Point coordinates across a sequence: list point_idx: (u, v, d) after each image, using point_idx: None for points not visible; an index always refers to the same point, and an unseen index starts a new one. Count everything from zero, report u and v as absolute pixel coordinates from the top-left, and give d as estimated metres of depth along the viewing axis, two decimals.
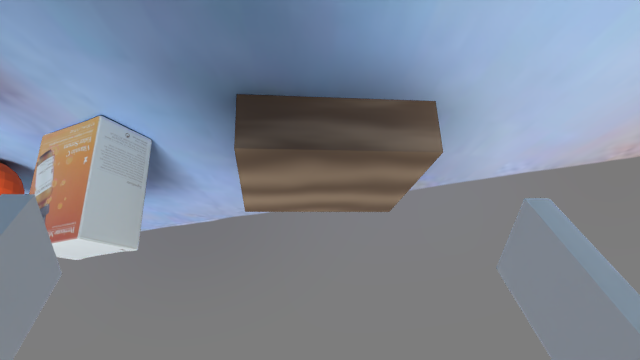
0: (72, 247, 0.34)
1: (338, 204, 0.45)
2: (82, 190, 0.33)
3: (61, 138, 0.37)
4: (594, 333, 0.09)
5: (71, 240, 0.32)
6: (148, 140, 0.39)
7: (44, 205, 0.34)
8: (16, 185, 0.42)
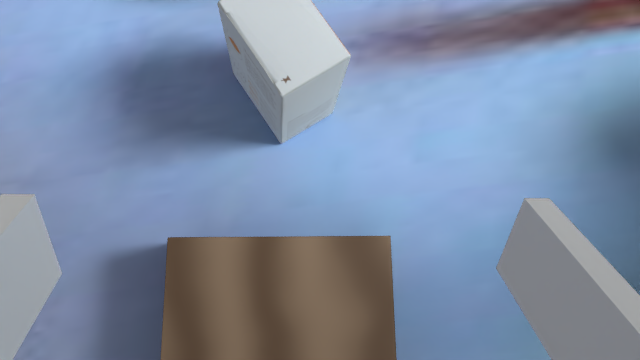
0: (308, 32, 0.28)
1: None
2: None
3: None
4: (594, 333, 0.09)
5: (341, 45, 0.28)
6: (285, 141, 0.37)
7: None
8: None
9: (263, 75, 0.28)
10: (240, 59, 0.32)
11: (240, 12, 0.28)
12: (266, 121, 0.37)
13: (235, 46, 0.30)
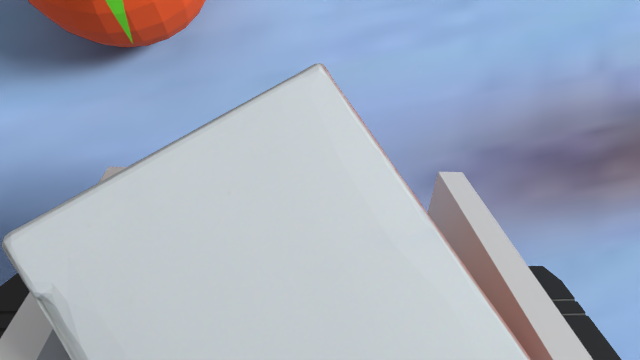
0: None
1: None
2: None
3: None
4: None
5: None
6: None
7: None
8: (129, 42, 0.15)
9: None
10: None
11: (104, 293, 0.06)
12: None
13: None
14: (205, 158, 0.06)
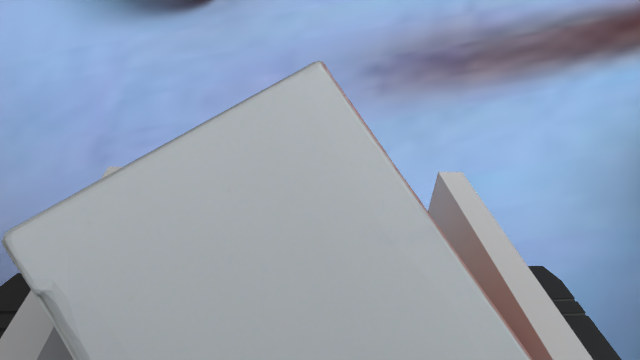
0: None
1: None
2: None
3: None
4: None
5: None
6: None
7: None
8: None
9: None
10: None
11: (105, 290, 0.06)
12: None
13: None
14: (204, 156, 0.06)
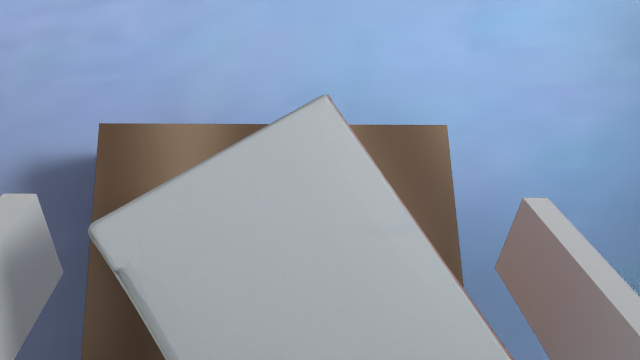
0: (406, 333, 0.08)
1: (152, 356, 0.17)
2: None
3: None
4: (592, 332, 0.09)
5: None
6: None
7: None
8: None
9: None
10: None
11: (166, 268, 0.08)
12: None
13: None
14: (239, 167, 0.08)
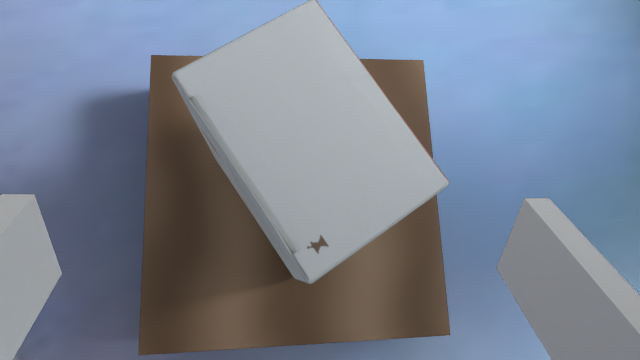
0: (362, 135, 0.13)
1: (197, 227, 0.22)
2: None
3: None
4: (594, 333, 0.09)
5: (430, 161, 0.13)
6: None
7: None
8: None
9: (268, 224, 0.14)
10: (223, 164, 0.17)
11: (219, 96, 0.13)
12: None
13: (213, 146, 0.16)
14: (260, 40, 0.14)
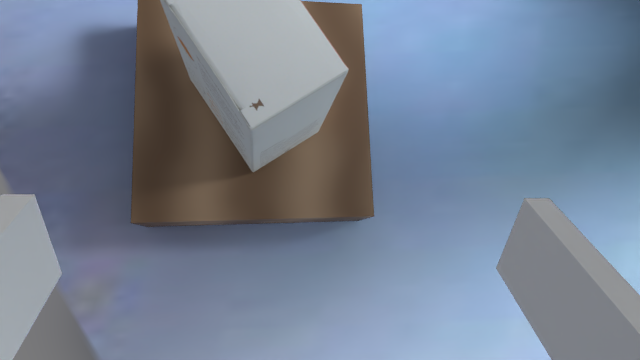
0: (289, 35, 0.20)
1: (176, 129, 0.29)
2: None
3: None
4: (594, 333, 0.09)
5: (335, 54, 0.20)
6: None
7: None
8: None
9: (224, 96, 0.20)
10: (195, 67, 0.23)
11: (190, 4, 0.19)
12: (233, 143, 0.28)
13: (186, 50, 0.22)
14: None
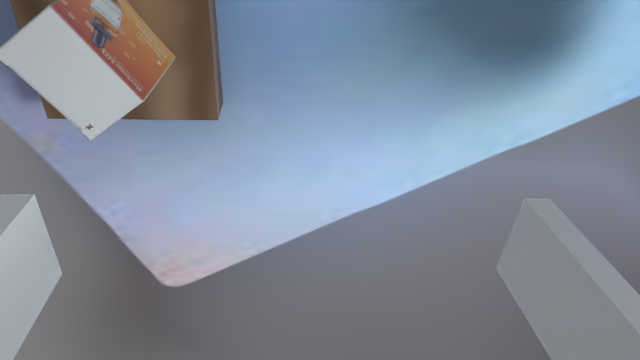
0: (95, 82, 0.29)
1: None
2: (153, 77, 0.33)
3: (132, 13, 0.35)
4: (594, 333, 0.09)
5: (131, 92, 0.29)
6: None
7: (105, 29, 0.30)
8: None
9: None
10: None
11: (21, 65, 0.28)
12: None
13: None
14: (29, 35, 0.27)
